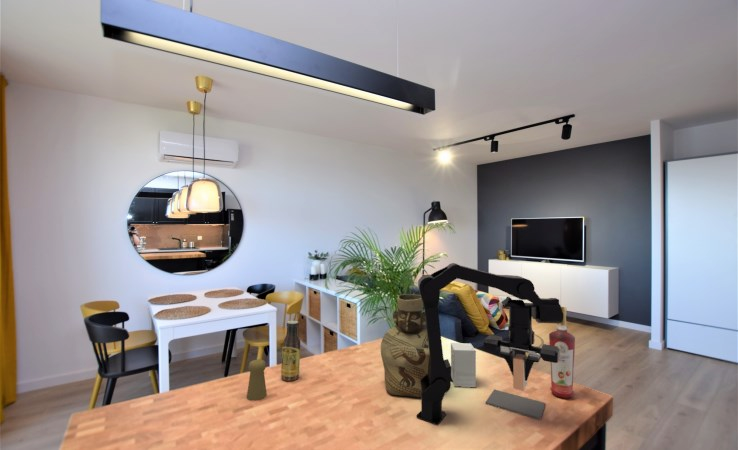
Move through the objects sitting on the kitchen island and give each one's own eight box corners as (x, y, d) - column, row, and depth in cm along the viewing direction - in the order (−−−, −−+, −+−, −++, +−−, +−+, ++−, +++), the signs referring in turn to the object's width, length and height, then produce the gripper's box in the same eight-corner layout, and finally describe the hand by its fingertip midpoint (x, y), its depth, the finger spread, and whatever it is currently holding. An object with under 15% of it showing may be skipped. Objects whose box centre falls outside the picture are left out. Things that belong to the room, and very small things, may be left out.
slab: (523, 391, 91) (523, 361, 91) (513, 388, 93) (513, 359, 93) (527, 384, 95) (527, 355, 95) (517, 381, 97) (517, 353, 97)
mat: (540, 419, 95) (540, 417, 95) (485, 403, 103) (485, 401, 103) (545, 404, 103) (545, 402, 103) (494, 391, 111) (494, 389, 111)
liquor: (575, 393, 110) (575, 307, 111) (574, 403, 104) (574, 311, 104) (550, 387, 114) (550, 304, 115) (547, 396, 108) (547, 308, 108)
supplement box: (471, 378, 121) (471, 343, 121) (476, 388, 113) (476, 350, 113) (450, 377, 121) (450, 342, 122) (453, 387, 114) (453, 349, 114)
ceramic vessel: (420, 409, 100) (421, 306, 100) (368, 386, 114) (369, 297, 114) (453, 387, 113) (453, 297, 114) (402, 369, 128) (403, 290, 128)
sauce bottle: (278, 381, 117) (278, 323, 118) (285, 373, 124) (286, 319, 124) (295, 382, 116) (296, 324, 117) (302, 375, 122) (303, 319, 123)
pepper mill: (260, 401, 103) (261, 365, 104) (242, 399, 105) (243, 363, 105) (270, 392, 109) (270, 358, 110) (253, 390, 111) (253, 356, 111)
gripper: (561, 321, 96) (562, 377, 95) (493, 311, 106) (493, 362, 106) (557, 330, 86) (557, 392, 86) (483, 319, 97) (483, 374, 97)
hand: (520, 378), depth 94 cm, fingers closed on slab, 3 cm apart
